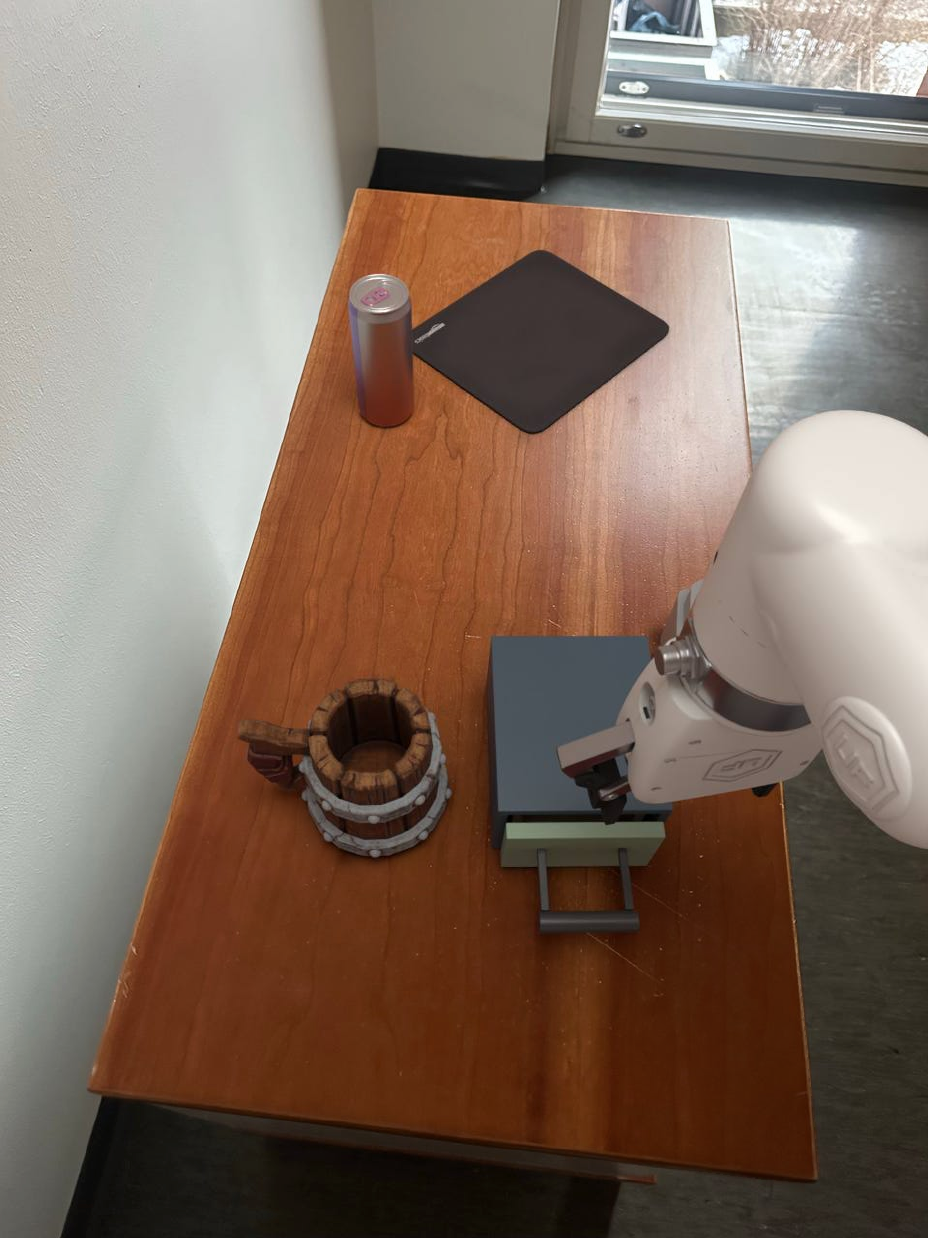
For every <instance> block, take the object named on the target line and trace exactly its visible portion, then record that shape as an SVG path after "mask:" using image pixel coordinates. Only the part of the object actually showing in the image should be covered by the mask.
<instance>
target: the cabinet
mask: <svg viewBox="0 0 928 1238" xmlns="http://www.w3.org/2000/svg"><path fill="white" fill-rule="evenodd" d="M651 657H652V656H651V650H650V642H649V636H648V635H491V636H490V645H489V654H488V665H487V673H486V674H487V676H486V683H485V692H486V693H485V694H486V696H485V697H486V721H487V725H486V726H487V751H488V755H487V756H488V781H489V783H488V784H489V807H490V808H489V809H490V811H489V813H490V836H491V837H490V839H491V842H490V843H491V849H492V850H501V846H502V841H503V836H504V831H505V826H506V823H508V815H563V814H602V813H601V809H600V808H597V809H593V808H592V806H591V803H590V800H589V796H588V791H587V788H583V787H579V786H576V784H575V780H574V779H573V778H570V777H568V776H567V775H566V774H565V773H563V772H562V770H561V767H560V763H559V759H558V756H557V752H556V749H557V748H558V747H560V746H562V745H564V744H567V743H570V742H573V741H575V740H578V739H581V738H583V737H586V736H589V735H592V734H594V733H597V732H600V731H603V730H605V729H608V728H611V727H614V726H615V725H616V722H617V718H618V716H619V713H620V711H621V709H622V706H623V704H624V702H625V700H626V698H627V696H628V694H629V693H630V691H631V689H632V687H633V686H634V684H635V682H636V681H637V679H638V678H639V676H640V675H641V673H642V672H643V671H644V669H645V668H646V666H647V665H648V664H649V663H650V661H651V660H652V658H651ZM615 759H616V763H617V766H618V769H619V772H620V776H621V777H622V776H624V775H626V774H628V766H627V763H626V760H625V757H624V755H621V756H618V757H616V758H615ZM626 796H627V803H626V805H625V807H624V809H623V811H622V813H621V814H645V816H644V818H643V820H642V821H641V822H663V823H664V825H665V824H666V822H667V820H668V819H669V817H670V816H671V814H672V813H673V812H674V803H673V802H667V803H657V804H651V803H645V802H642V801H640V800H638V799H636V798H635V797H634V795H633V792H632V791H630V792H628V793H626Z"/></svg>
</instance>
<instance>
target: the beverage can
mask: <svg viewBox="0 0 928 1238" xmlns="http://www.w3.org/2000/svg"><path fill="white" fill-rule="evenodd" d="M409 290H410V289H409V287H408V285H407V284H406V282H404V281H403V280H402V279H401V278H399V277H396V276H394V275H392V274H387V273H373V274H368V275H365V276H362V277H360V278H359V279H357V280H355V282H353V283H352V285H351V286H350V289H349V292H348V293H349V295H348V296H349V298H348V301H347V307H348V316H349V326H350V327H349V328H350V335H351V347H352V355H353V357H352V358H353V365H354V376H355V377H354V378H355V388H356V394H357V395H356V396H357V405H358V410H359V413H360V415H361V416H362V417H363V418H364V419H365V420H366V421H367V422H369V423H370V424H372V425H374V426H376V427H380V428H381V427H383V428H390V427H396V426H398V425H401V424H403V423H404V422H406V420H408V419H409V417H410V416H411V415H412V413H413V411H414V409H415V384H414V383H415V381H414V379H415V378H414V353H413V343H412V329H413V312H412V307H413V306H412V299H411V296H410V291H409Z"/></svg>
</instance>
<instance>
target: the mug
mask: <svg viewBox="0 0 928 1238" xmlns="http://www.w3.org/2000/svg"><path fill="white" fill-rule="evenodd" d="M237 725H238V727H237V739H238V740H239V741H242V742H245V743H247V744H248V749H247V757H246V761H247V762H248V763H249V764H250V765H251V766H252V767H253V769H254V770H255V771H256V772H257V773H258V774H260V775H262V777H264V778H265V780H267V781H268V782H270V783H271V784H274V783H275V784H277V785H278V787H279V788H280V790H281V791H285V792H286V791H287V792H295V791H297V790H299V789H302V788H304V787H305V789H304V790H303V791H302V793H301V799H302V800H303V801H305V802H307V809H308V813H309V815H310V816H311V818H312V820H313V822H314V823H315V826H316V827H317V829H318V831H319V833H320V834H322V835H323V839H324V841H326V842H328V843H329V842H330V843H331V842H332V843H333V845H335V846H336V847H337V848H338V849H341V850H344V851H347V852H351V853H354V854H356V855H360V856H362V857H372V858H378V857H380V856H381V857H382V856H391V855H392V856H393V855H394V854H397V853H399V852H402V851H404V850H407V849H410V848H412V847H415V846H416V845H418V843H419V842H421V841H424V840H426V839H427V838H428V836H429V834H430V833H431V832H432V831H434V830H435V827H436V825H437V824H438V822H439V820H440V818H441V817H442V815H443V813H444V811H445V810H446V808H447V807H446V806H447V800H449V799H450V798H451V797H452V795H453V794H452V793H453V791H452V790H451V788H450V781H449V777H448V772H447V767H446V762H447V757H446V754H444V751H443V750H444V749H443V746H442V741H441V737H440V732H439V727H438V725H437V723H436V714H434V713H433V712H431V711H428V709H427V707H426V706H425V705H424V704H423V702H421V700H420V698H419V697H418V695H416V694H415V693H414V692H413V691H411V690H410V689H408V688H407V687H405V686H403V687H402V688H400V689H399V688H398V683H397V682H395V681H392V680H388V679H385V678H381V677H380V678H379V677H377V678H359V679H355V680H353V681H349V682H347V683H345V684H344V689H343V690H341V689H340V688H338V687H337V688H335V689H334V690H332V691H331V692H330V693H328V694H327V695H326V696H324V697H323V698H322V700H321V701H320V703H319V704H318V705H317V707H316V708H315V710H314V711H313V713H312V715H311V719H309V721H307V728H304V727H303V728H294V727H293V728H292V727H282V726H279V725H277V724H274V723H272V722H269V721H267V720H260V719H254V718H249V717H247V718H245V719H242V720H239V721H238V724H237ZM295 755H296V756H297V755H298V756H302V761H301V762H299V763H297V764H296V765H294V762H293V756H295Z"/></svg>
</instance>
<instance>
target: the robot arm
mask: <svg viewBox="0 0 928 1238" xmlns="http://www.w3.org/2000/svg"><path fill="white" fill-rule="evenodd" d="M703 579H704V581H703V583H702V585H701V587H700V590H699V592H698V594H697V596H696V598H695V601H694V603H693V605H692V607H691V609H690V612H689V614H688V616H687V618H686V621H685V623H684V625H683V628H682V630H681V632H680V634H679V636H676V637H675V638H672V639H670V640H669V641H668V642H667V643H666V644H665V645H664V646H660V645H658V646H655V648H654V650H653V651H654V653H653V658H651V661H650V663H649V664H648V665H647V666H646V668H645V669H644V671H643V672H642V673H641V675H640V676H639V678H638V679H637V681H636V682H635V684H634V686H633V687H632V689H631V691H630V693H629V694H628V696H627V698H626V700H625V702H624V704H623V706H622V709H621V711H620V713H619V716H618V718H617V722H616V725H615V726H614V727H611V728H608V729H605V730H603V731H600V732H597V733H594V734H592V735H589V736H586V737H583V738H581V739H578V740H575V741H573V742H570V743H567V744H564V745H562V746H560V747H558V748H557V749H556V752H557V756H558V759H559V763H560V767H561V770H562V772H563V773H565V774H566V775H567V776H568V777H570V778H573V779H574V780H575V784H576V786H579V787H583V788H587V791H588V796H589V800H590V803H591V806H592V808H593V809H597V808H600V809H601V813H602V816H603V820H604V823H605V825H611V824H615V822H616V821H618V819H619V817H620V815H621V813H622V811H623V809H624V807H625V805H626V803H627V796H626V793H628V792H630V791H632V792H633V795H634V797H635V798H636V799H638V800H640V801H642V802H645V803H651V804H657V803H667V802H672V803H673V802H679V801H685V800H692V799H697V798H702V797H709V796H714V795H719V794H720V795H721V794H726V793H731V792H737V791H742V790H747V789H751V792H752V795H754V796H755V797H757V798H765V797H768V796H769V795H770V794H771V792H773V790H774V789H775V788H776V787H777V785H778V784H779V783H781V782H784V781H788V780H791V779H794V778H795V777H797V776H799V775H800V774H802V772H803V771H805V770H806V769H807V768H808V766H810V764H811V763H812V762H813V761H814V760H815V758H816V757H817V756H818V754H819V753H820V752H821V750H822V751H823V754H824V759H825V761H826V763H827V766H828V769H829V771H830V772H831V774H832V776H833V778H834V780H835V782H836V784H837V785H838V786H839V788H840V789H841V791H842V792H843V793H844V795H845V796H846V797H847V798H848V799H849V800H850V801H851V802H852V803H853V804H854V805H855V806H856V807H857V808H859V809H860V811H861V812H862V813H863V814H864V815H865V816H866V817H867V819H869V821H871V822H872V823H873V824H874V825H875V826H876V827H878V828H879V829H880V830H881V831H882V832H884V833H886V834H887V835H889V836H890V837H892V838H894V839H895V840H896V841H899V842H901V843H903V844H906V845H908V846H912V847H915V848H920V849H925V850H928V436H927V435H926V434H924V433H923V432H922V431H920V430H918V429H917V428H915V427H913V426H911V425H909V424H907V423H905V422H903V421H901V420H898V419H896V418H893V417H891V416H888V415H885V414H884V415H883V414H880V413H875V412H869V411H864V410H854V409H853V410H851V409H839V410H830V411H824V412H820V413H815V414H813V415H810V416H808V417H804V418H802V419H800V420H797V421H796V422H794V423H792V424H791V425H789V426H787V427H786V428H784V429H783V430H782V431H781V432H779V434H778V435H776V437H774V438H773V439H772V440H771V441H770V442H769V444H768V445H767V446H766V447H765V449H764V450H763V451H762V453H761V454H760V456H759V459H758V461H757V462H756V463H755V466H754V468H753V469H752V472H751V474H750V475H749V478H748V480H747V483H746V485H745V487H744V490H743V491H742V494H741V496H740V498H739V500H738V502H737V505H736V507H735V510H734V511H733V514H732V516H731V518H730V521H729V522H728V525H727V527H726V529H725V531H724V534H723V536H722V539H721V540H720V543H719V545H718V547H717V550H716V552H715V554H714V556H713V558H712V561H711V563H710V565H709V567H708V570H707V571H706V574H705V576H704V578H703ZM621 755H624V757H625V760H626V763H627V766H628V774H626V775H624V776H622V777H621V776H620V772H619V769H618V766H617V763H616V759H615V758H616V757H618V756H621Z"/></svg>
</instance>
